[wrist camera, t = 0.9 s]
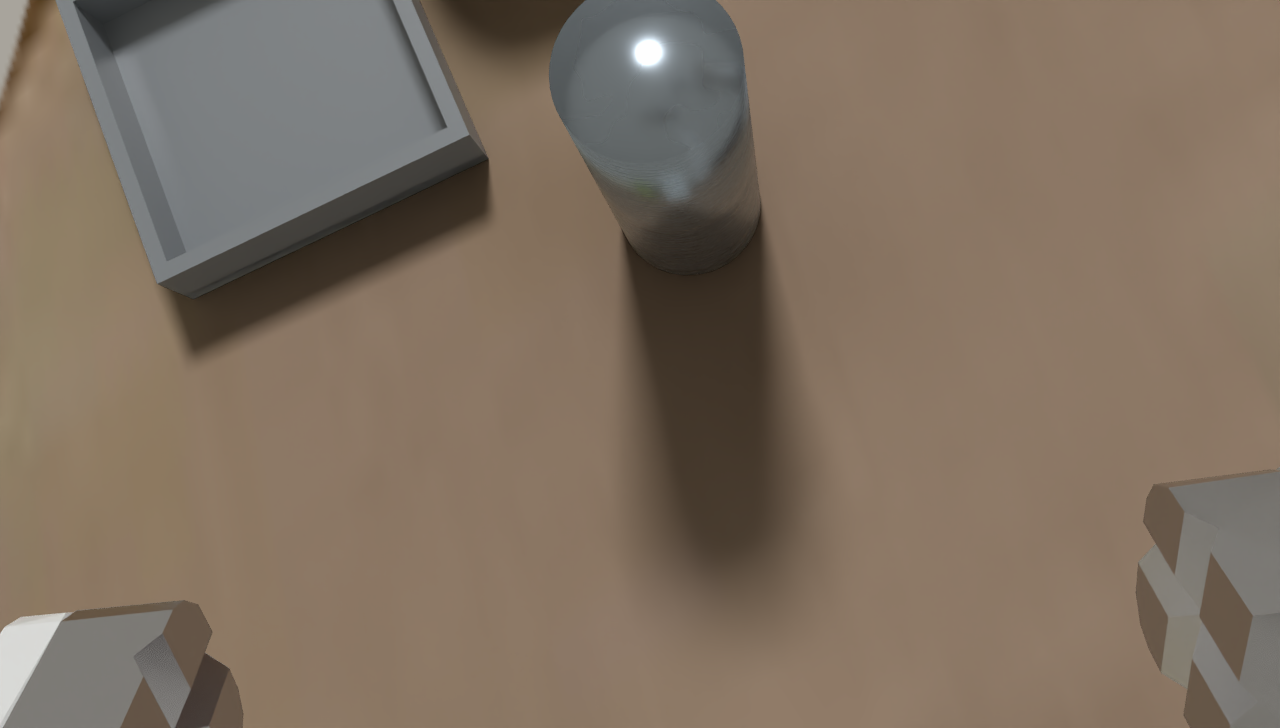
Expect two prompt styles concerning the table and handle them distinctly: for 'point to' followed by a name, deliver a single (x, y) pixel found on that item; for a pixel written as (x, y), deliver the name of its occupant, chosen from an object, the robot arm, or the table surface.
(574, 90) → the canister
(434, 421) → the table surface
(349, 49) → the tray
